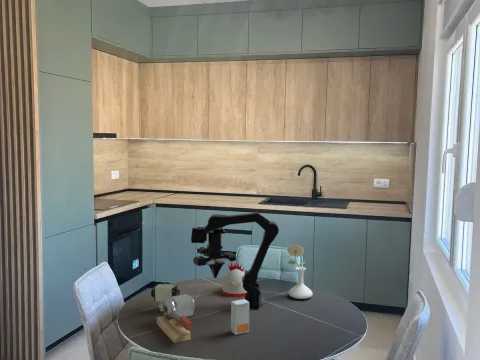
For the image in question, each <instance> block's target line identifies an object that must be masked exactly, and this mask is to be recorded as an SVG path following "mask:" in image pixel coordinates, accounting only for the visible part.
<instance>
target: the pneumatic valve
mask: <svg viewBox="0 0 480 360" xmlns="http://www.w3.org/2000/svg"><path fill="white" fill-rule="evenodd" d="M179 295H181V290H180V288H178V285H177V284H176V285H175V284H167V283H163V284H162V283H158V284H156V285H154V286H153V287H152V288H151V291H150V296H151V298H152V299H153V302H160V304H159V306H158V308H159V311H160V312H161V313H162V312H163V313H164V310H163V301H164V299H168V298H171V297H173V296H179Z"/></svg>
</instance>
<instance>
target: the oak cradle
mask: <svg viewBox="0 0 480 360" xmlns="http://www.w3.org/2000/svg"><path fill="white" fill-rule="evenodd" d="M156 324H157V326H158V327H159V328H160V329H161V330H162V331H163V333H164V334H165V335H166V336H167V337H168V338H169V339H170V340H171V341H172V343H174V344H177V343H181V342H186V341H190V340H191V339H192V338H191V336H192V335H191V330H188V331H187V330H186V329H185V328H184V327H183V326H182V325H180V322H179V321H177V320H176V319H175V318H174V317H172V318H166V317H165V315H162V316H157V317H156Z"/></svg>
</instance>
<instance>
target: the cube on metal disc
mask: <svg viewBox="0 0 480 360" xmlns="http://www.w3.org/2000/svg"><path fill="white" fill-rule="evenodd" d="M171 298H173V299H174V300H175V303H176V307H177V310H178V311H179V312H180V313H181V314H182V315H183V316H186V317H189V316H193V315H194V312H195V309H196V307H195V306H196V305H195V300H194V297H193V296H192V295H189V294H187V293H185V294H180V295H179V296H173V297H171Z"/></svg>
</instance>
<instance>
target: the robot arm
mask: <svg viewBox="0 0 480 360" xmlns="http://www.w3.org/2000/svg"><path fill="white" fill-rule="evenodd" d="M248 223H249V224H250V223H256V224H257V225H258V226H260V228H262V230H263V234H262V239H261V242H260V245H259V246H258V250H257V252H256V255H255V257H254V259H253V261H252V264H251V266H250V268H249V269H248V270H247V269H245V270H244V276H243V277H242V282H243V289H244V290H245V291H247V292H246V296H244V299H245V300H247V301H248V302H249V309H250V310H251V309H252V310H259V309H260V308H261V307H262V306H263V303H262V292H261V285H260V284H259V283H258V276H259V272H260V270H261V267H262V265H263V262H264V260H265V258H266V255H267V254H268V251H269V248H270V246H271V244H272V243H273V242H274V241H275V239H276V238H277V236H278V234H279V232H280V230H279V229H280V228H279V227H278V224H277V223H276V222H275V221H270V219H268V218H266V217H265V216H263V215H262V214H261V213H260V212H258V211H255V212H249V213H240V214H231V215H226V214H220V213H219V214H217V213H215V214H211V215H210V216H209V218H208V220H207V224H206V225H205V226H204V227H192V229H191V236H190V241H191V242H190V243H191V244H205V242H207V241H208V242H207V243H208V244H207V245H206V247H205V246H200V247H199V255H200V256H199V255H198V256H194V257H193V259H192V261H193V262H192V263H193V264H194V265H196V266H197V267H202V266H206V265H207V266H208V267H209V269H210V272H211V274H212V276H213V278H214V279H217V277H218V275H219V273H220V271H221V269H222V267H223V266H224V265H225V262H224V260H228V261H229V262H236V261H237V255H236V253H233V252H231V251H228V252H223V254H222V249H223V247H224V246H223V245H222V235H225V234H226V230H225V229H224V228H225V227H227V226H230V225H237V224H248ZM202 255H203V256H202Z"/></svg>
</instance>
